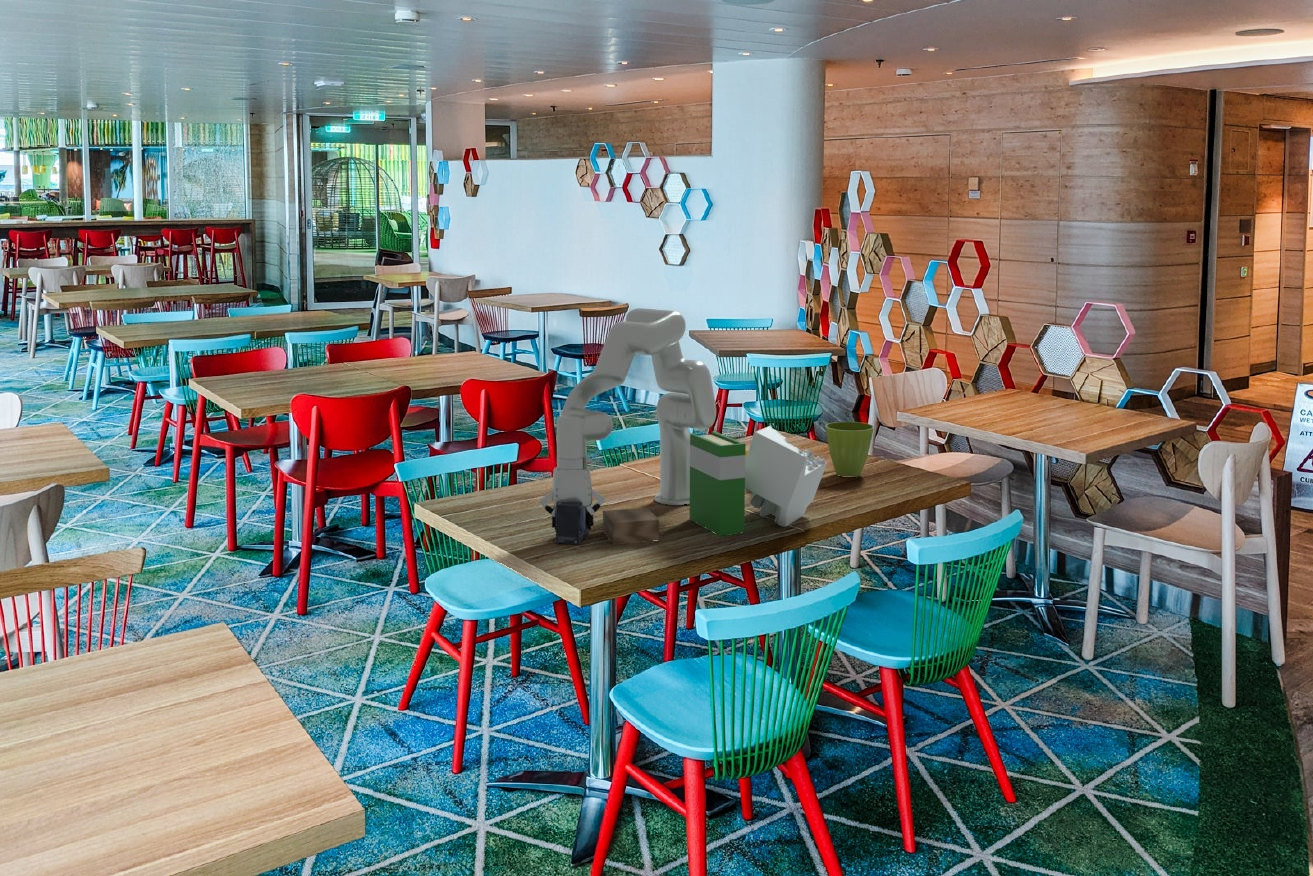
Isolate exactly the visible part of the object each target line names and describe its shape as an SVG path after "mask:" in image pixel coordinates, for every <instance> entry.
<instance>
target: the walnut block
mask: <svg viewBox="0 0 1313 876" xmlns="http://www.w3.org/2000/svg"><path fill="white" fill-rule="evenodd" d="M602 533H604V535H605V534H606V535H605V536H606V538H607V539H608V540H609V539H610V540H611V541H610V540H609V541H610V542H611V544H612V545H613V544H616V545H626V544H625V543H628V544H635V543H634V542H641V543H644V542H643V541H653V540H659V541H660V519H659V518H658V517H657V516H656V515H655V514H654V513H653V512H652V511H651V509H649V508H648V507H639V508H626V509H625V508H623V509H609V510H608V509H607V510H602ZM653 542H654V541H653Z"/></svg>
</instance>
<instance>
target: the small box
mask: <svg viewBox="0 0 1313 876" xmlns="http://www.w3.org/2000/svg"><path fill="white" fill-rule="evenodd" d="M587 513H588V510H587V508H586V507H583V503H582V502H558V503H557V504H556V532H555V544H565V545H580V543H581V542H582V541H583V540H584V539H585V538H586V537H587V536H588V535H589V532H590V530H588V527H587Z"/></svg>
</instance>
